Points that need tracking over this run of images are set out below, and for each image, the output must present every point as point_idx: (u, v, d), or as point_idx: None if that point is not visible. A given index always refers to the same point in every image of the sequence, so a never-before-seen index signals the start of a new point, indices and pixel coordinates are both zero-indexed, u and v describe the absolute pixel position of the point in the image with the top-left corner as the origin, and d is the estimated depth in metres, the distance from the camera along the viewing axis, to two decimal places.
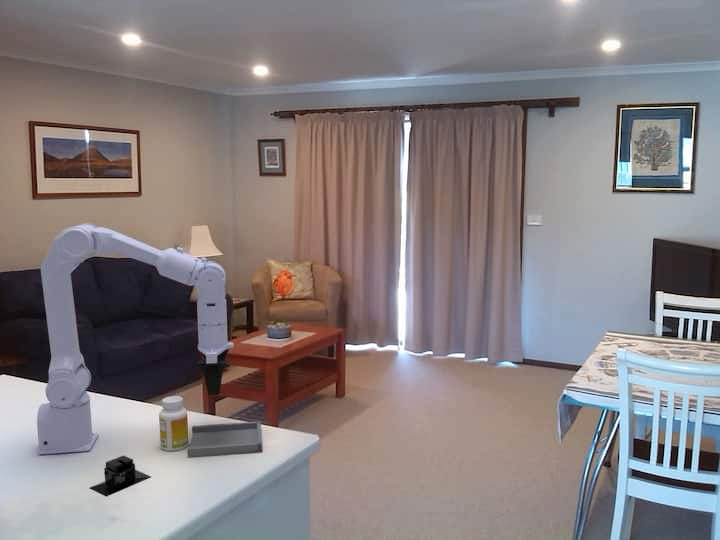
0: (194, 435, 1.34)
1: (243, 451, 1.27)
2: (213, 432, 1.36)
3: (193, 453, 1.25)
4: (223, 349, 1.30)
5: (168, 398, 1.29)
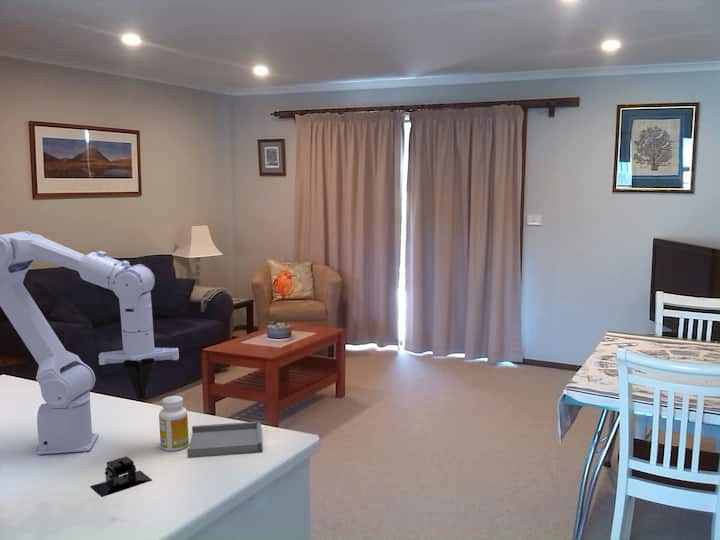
0: (194, 435, 1.34)
1: (243, 451, 1.27)
2: (213, 432, 1.36)
3: (193, 453, 1.25)
4: (119, 356, 1.24)
5: (168, 398, 1.29)
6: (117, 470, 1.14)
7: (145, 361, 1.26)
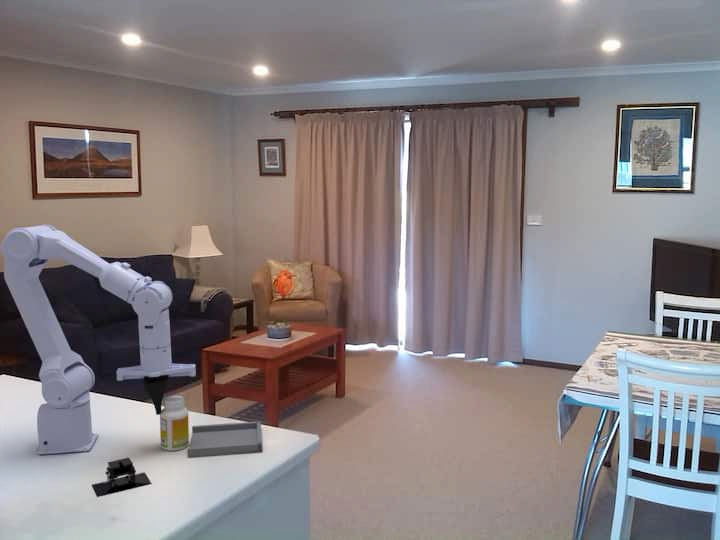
0: (194, 435, 1.34)
1: (243, 451, 1.27)
2: (213, 432, 1.36)
3: (193, 453, 1.25)
4: (137, 372, 1.25)
5: (169, 398, 1.29)
6: (117, 471, 1.13)
7: (162, 377, 1.27)
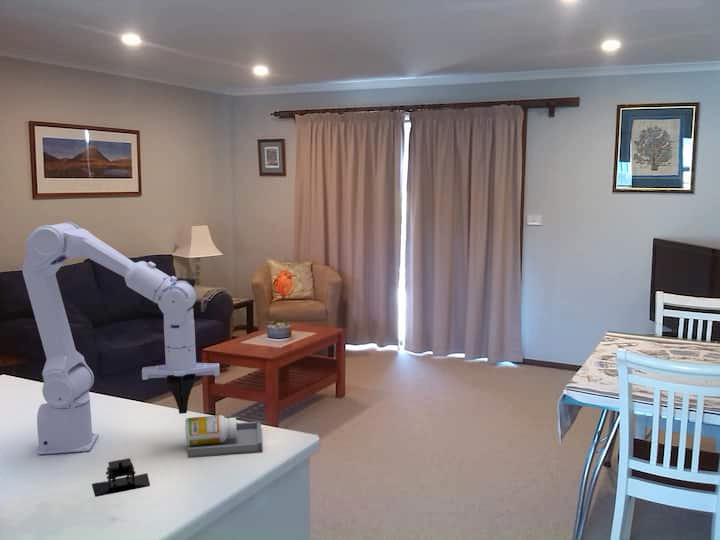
0: None
1: (243, 451, 1.27)
2: None
3: (193, 453, 1.25)
4: (162, 371, 1.26)
5: None
6: (117, 471, 1.13)
7: (187, 376, 1.28)
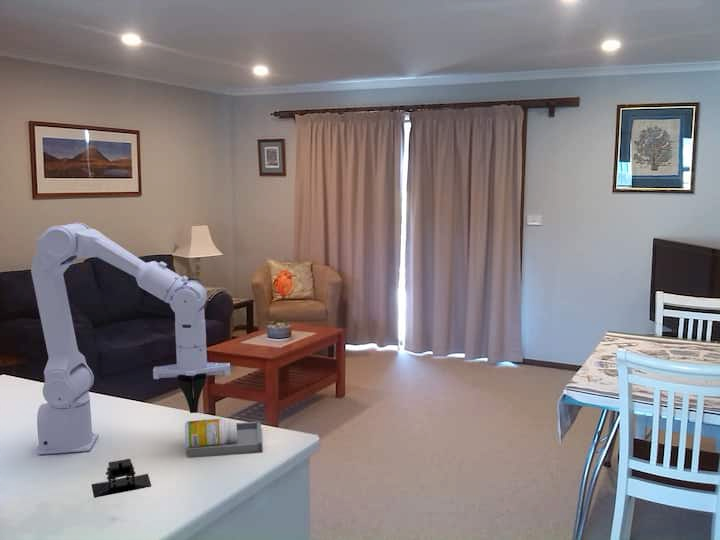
0: None
1: (243, 451, 1.27)
2: None
3: (193, 453, 1.25)
4: (173, 371, 1.26)
5: None
6: (116, 472, 1.13)
7: (198, 376, 1.28)
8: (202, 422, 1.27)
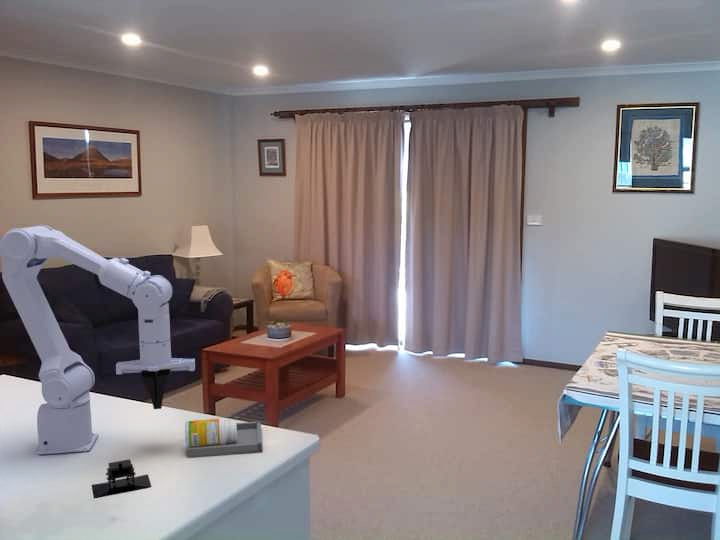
0: None
1: (243, 451, 1.27)
2: None
3: (193, 453, 1.25)
4: (136, 366, 1.25)
5: None
6: (116, 472, 1.13)
7: (162, 371, 1.27)
8: (202, 421, 1.27)
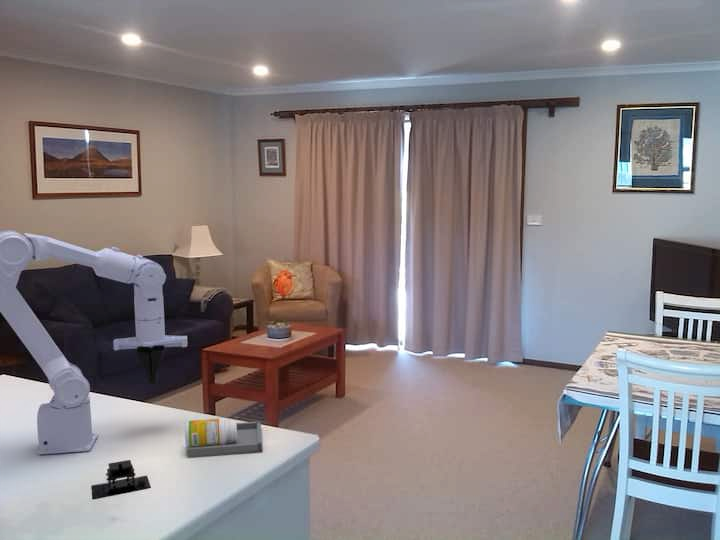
0: None
1: (243, 451, 1.27)
2: None
3: (193, 453, 1.25)
4: (132, 342, 1.34)
5: None
6: (117, 473, 1.13)
7: (156, 347, 1.36)
8: (202, 421, 1.28)
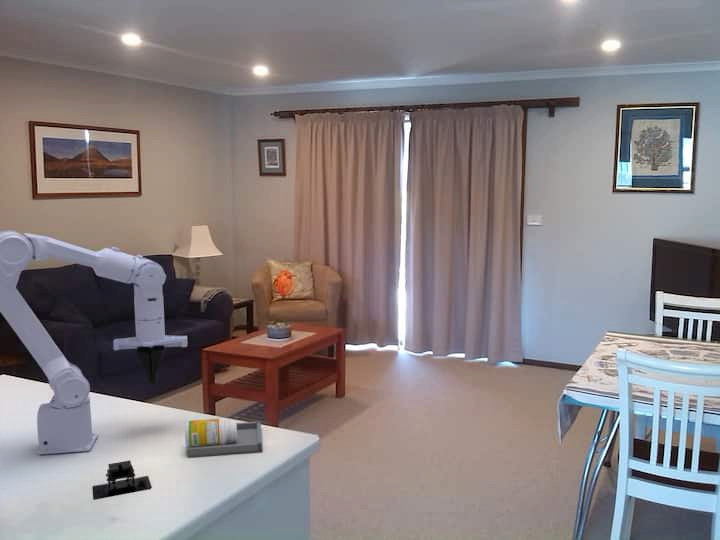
0: None
1: (243, 451, 1.27)
2: None
3: (193, 453, 1.25)
4: (132, 342, 1.34)
5: None
6: (116, 473, 1.12)
7: (156, 347, 1.36)
8: (202, 421, 1.28)
